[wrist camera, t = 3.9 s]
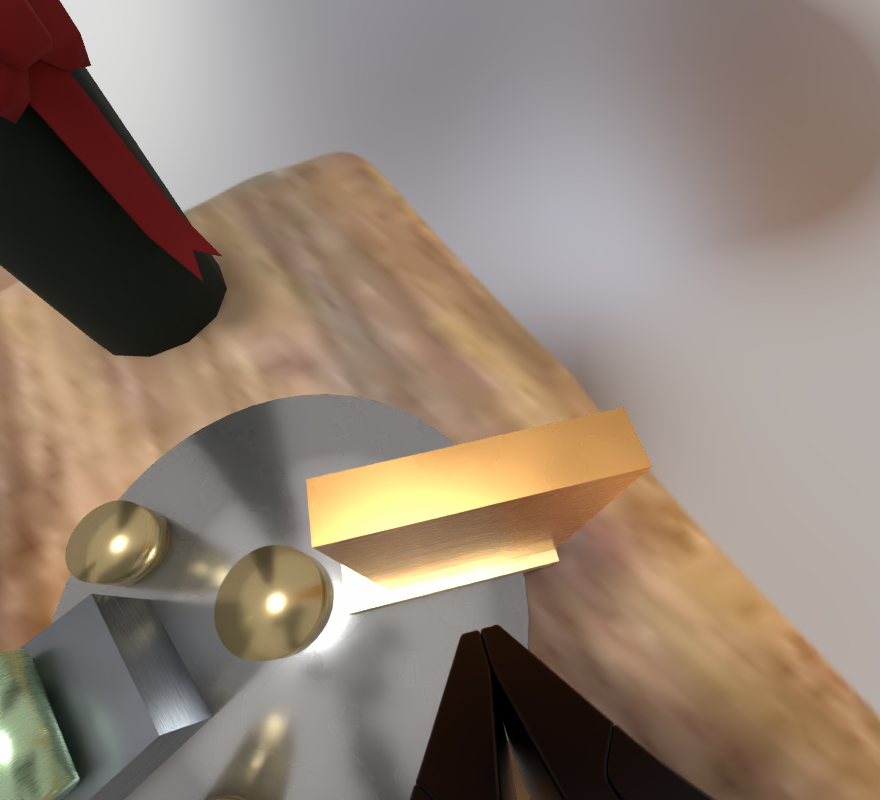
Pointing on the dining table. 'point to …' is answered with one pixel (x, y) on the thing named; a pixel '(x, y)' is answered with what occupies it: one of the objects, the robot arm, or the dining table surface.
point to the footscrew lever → (429, 528)
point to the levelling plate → (200, 649)
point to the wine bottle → (90, 199)
